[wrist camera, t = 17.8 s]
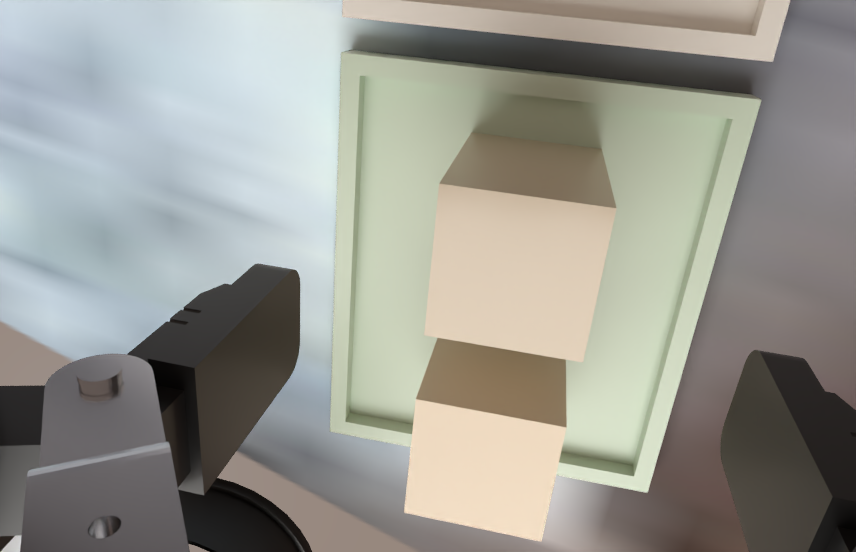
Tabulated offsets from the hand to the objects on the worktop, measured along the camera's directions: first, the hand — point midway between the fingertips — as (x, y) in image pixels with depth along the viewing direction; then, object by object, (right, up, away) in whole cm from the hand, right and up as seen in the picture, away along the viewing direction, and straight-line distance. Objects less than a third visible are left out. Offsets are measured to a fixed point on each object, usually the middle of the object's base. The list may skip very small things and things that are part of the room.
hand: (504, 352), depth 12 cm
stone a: (+1, -2, +12) cm, 12 cm away
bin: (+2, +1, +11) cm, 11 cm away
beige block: (+2, +4, +9) cm, 10 cm away
